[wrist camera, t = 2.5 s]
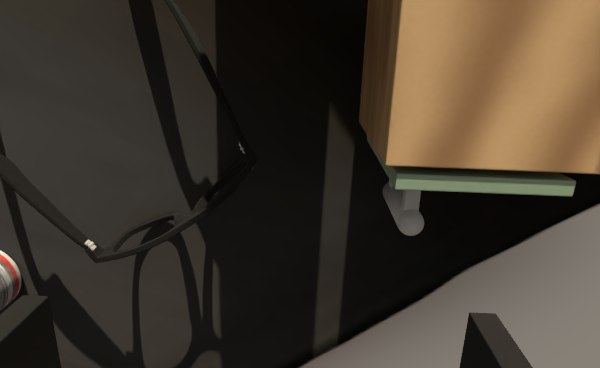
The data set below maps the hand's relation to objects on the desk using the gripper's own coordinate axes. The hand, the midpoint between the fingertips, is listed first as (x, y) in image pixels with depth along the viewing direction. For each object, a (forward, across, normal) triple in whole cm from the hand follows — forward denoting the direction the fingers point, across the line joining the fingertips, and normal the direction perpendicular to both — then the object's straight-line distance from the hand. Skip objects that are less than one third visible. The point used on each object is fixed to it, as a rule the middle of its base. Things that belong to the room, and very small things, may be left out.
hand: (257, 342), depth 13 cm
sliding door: (+20, +10, +1) cm, 22 cm away
